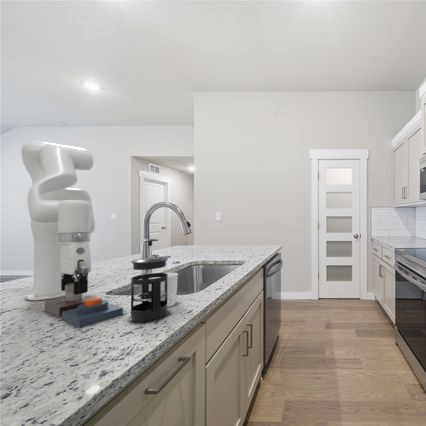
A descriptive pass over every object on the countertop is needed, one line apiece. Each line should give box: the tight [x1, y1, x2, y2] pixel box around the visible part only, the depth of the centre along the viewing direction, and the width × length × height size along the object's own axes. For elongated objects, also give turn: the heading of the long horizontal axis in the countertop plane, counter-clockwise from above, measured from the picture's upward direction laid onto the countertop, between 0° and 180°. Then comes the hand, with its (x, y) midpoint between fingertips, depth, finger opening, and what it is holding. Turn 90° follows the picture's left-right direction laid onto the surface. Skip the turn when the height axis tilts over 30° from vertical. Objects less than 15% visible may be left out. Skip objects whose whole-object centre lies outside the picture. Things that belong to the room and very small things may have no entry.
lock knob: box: [64, 283, 83, 302], centre depth 81 cm, size 4×4×5 cm
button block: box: [61, 299, 124, 329], centre depth 75 cm, size 12×10×4 cm
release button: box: [85, 296, 102, 306], centre depth 75 cm, size 4×4×2 cm
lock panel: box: [44, 292, 103, 319], centre depth 81 cm, size 12×10×3 cm
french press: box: [129, 238, 169, 324], centre depth 74 cm, size 12×9×23 cm
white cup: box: [151, 272, 179, 308], centre depth 85 cm, size 8×8×10 cm
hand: (74, 291), depth 81 cm, fingers open, 9 cm apart
